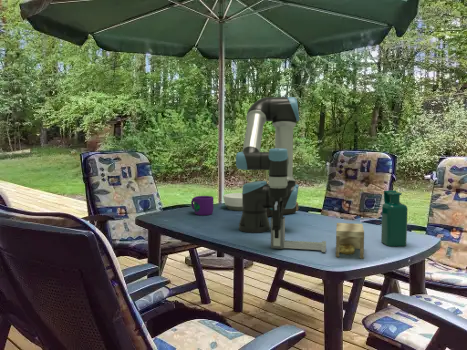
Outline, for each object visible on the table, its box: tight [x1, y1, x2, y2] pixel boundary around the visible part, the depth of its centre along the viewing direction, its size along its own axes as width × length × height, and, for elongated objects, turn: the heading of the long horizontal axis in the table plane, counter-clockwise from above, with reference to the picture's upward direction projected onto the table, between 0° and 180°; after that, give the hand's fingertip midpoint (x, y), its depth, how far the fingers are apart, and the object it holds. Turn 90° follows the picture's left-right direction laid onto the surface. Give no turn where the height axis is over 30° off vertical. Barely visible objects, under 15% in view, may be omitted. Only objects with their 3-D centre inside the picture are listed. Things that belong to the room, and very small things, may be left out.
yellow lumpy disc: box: [339, 244, 356, 256], centre depth 170 cm, size 6×6×2 cm
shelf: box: [335, 222, 365, 260], centre depth 169 cm, size 10×15×10 cm, turn 166°
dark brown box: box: [266, 201, 299, 218], centre depth 246 cm, size 11×7×30 cm
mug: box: [190, 195, 214, 216], centre depth 254 cm, size 17×11×10 cm, turn 43°
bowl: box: [222, 192, 243, 212], centre depth 270 cm, size 22×22×8 cm
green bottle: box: [380, 189, 408, 247], centre depth 182 cm, size 10×8×22 cm
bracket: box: [270, 216, 327, 253], centre depth 174 cm, size 22×7×12 cm, turn 76°
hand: (277, 243), depth 176 cm, fingers closed on bracket, 5 cm apart
